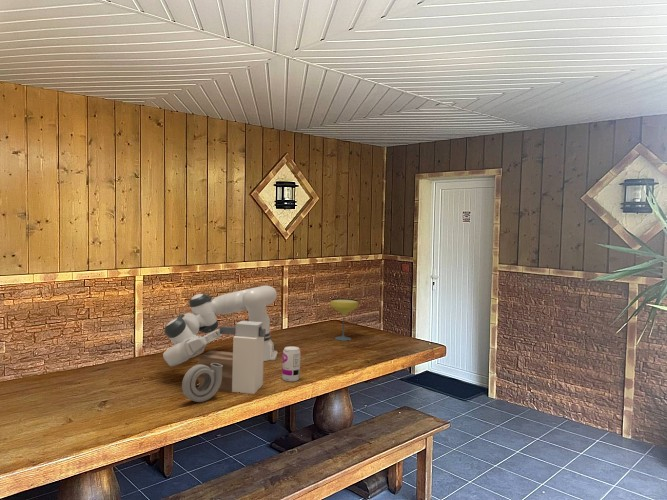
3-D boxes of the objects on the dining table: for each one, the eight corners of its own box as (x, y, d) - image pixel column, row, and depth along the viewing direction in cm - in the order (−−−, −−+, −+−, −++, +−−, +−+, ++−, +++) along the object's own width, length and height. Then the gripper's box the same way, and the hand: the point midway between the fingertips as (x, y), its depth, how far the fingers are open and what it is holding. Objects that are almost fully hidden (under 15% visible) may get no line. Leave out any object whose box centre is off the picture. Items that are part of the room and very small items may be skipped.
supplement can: (283, 382, 235) (284, 350, 234) (280, 377, 243) (281, 346, 242) (300, 381, 237) (302, 350, 236) (297, 376, 245) (298, 345, 244)
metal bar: (222, 332, 227) (222, 325, 227) (265, 335, 224) (265, 328, 223) (219, 333, 224) (220, 326, 224) (263, 337, 221) (263, 330, 221)
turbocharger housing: (187, 407, 200) (188, 370, 199) (179, 403, 204) (179, 366, 203) (223, 397, 212) (224, 362, 211) (214, 393, 217) (215, 359, 216)
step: (209, 380, 234) (210, 350, 233) (241, 383, 232) (242, 353, 231) (198, 388, 222) (199, 357, 222) (231, 391, 220) (232, 360, 219)
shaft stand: (241, 383, 232) (243, 319, 230) (262, 385, 230) (264, 321, 228) (231, 391, 220) (233, 324, 218) (254, 394, 218) (255, 326, 216)
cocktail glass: (325, 336, 332) (327, 298, 331) (351, 335, 338) (353, 298, 336) (334, 342, 315) (335, 302, 314) (361, 341, 321) (362, 302, 319)
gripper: (208, 345, 238) (232, 333, 235) (188, 357, 218) (215, 343, 215) (202, 333, 238) (226, 321, 236) (181, 344, 218) (208, 330, 215)
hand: (221, 331), depth 225 cm, fingers open, 8 cm apart
